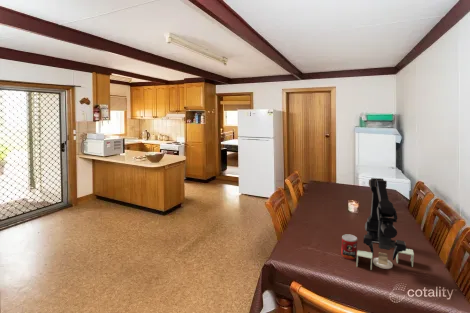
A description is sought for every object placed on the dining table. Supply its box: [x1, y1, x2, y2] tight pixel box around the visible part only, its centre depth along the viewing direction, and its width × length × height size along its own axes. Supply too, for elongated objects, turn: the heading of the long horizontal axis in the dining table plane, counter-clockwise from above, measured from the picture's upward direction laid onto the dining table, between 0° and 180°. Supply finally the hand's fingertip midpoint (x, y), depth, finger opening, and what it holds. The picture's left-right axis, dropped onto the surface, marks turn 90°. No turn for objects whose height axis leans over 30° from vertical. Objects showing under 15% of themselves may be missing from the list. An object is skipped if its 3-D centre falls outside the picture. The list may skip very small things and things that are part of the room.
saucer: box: [372, 257, 394, 270], centre depth 137 cm, size 9×9×1 cm
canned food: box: [340, 233, 358, 260], centre depth 145 cm, size 8×8×11 cm
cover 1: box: [355, 249, 373, 271], centre depth 136 cm, size 6×7×6 cm
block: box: [377, 252, 389, 265], centre depth 137 cm, size 4×4×4 cm
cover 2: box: [395, 248, 415, 268], centre depth 138 cm, size 6×7×6 cm
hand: (382, 257), depth 137 cm, fingers open, 9 cm apart
